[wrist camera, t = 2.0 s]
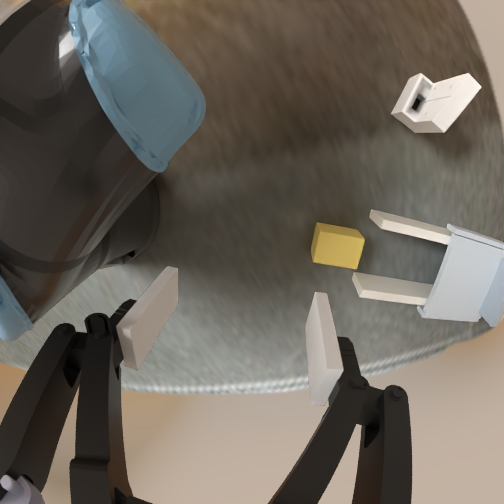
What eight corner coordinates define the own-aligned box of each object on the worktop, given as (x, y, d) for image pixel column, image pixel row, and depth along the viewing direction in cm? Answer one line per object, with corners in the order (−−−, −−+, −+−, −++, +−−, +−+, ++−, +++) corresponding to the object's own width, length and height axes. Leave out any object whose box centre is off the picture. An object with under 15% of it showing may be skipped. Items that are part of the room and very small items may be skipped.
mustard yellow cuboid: (310, 250, 32) (313, 262, 29) (316, 221, 30) (319, 231, 27) (350, 256, 32) (356, 269, 28) (357, 229, 30) (365, 239, 27)
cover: (416, 308, 29) (434, 336, 24) (447, 223, 25) (475, 240, 20) (471, 314, 29) (489, 337, 23) (500, 241, 24) (526, 258, 19)
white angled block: (453, 69, 19) (481, 86, 13) (410, 124, 27) (424, 155, 21) (429, 49, 18) (453, 59, 13) (388, 107, 26) (396, 133, 21)
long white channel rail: (351, 278, 32) (359, 297, 28) (371, 209, 29) (383, 219, 25) (464, 295, 31) (478, 311, 27) (485, 240, 28) (502, 252, 24)
